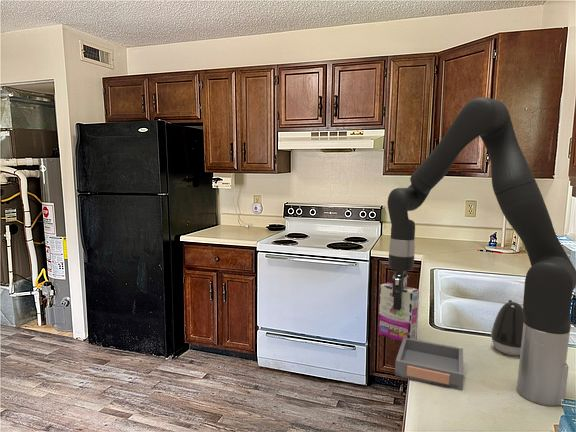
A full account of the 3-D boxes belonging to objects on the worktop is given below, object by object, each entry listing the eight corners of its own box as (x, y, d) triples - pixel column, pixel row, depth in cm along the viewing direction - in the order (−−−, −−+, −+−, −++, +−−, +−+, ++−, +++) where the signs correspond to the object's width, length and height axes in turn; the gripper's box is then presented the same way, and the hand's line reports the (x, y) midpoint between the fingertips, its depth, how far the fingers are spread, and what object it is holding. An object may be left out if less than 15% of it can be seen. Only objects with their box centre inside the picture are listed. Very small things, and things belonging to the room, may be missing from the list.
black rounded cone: (524, 347, 123) (529, 299, 121) (532, 362, 113) (537, 310, 112) (487, 341, 127) (492, 294, 125) (492, 355, 117) (496, 305, 115)
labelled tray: (461, 362, 112) (462, 348, 112) (461, 391, 97) (463, 375, 97) (402, 350, 118) (403, 337, 118) (394, 376, 103) (395, 361, 103)
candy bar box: (417, 340, 123) (420, 289, 122) (409, 345, 120) (412, 292, 118) (385, 330, 131) (388, 281, 130) (377, 334, 128) (379, 284, 126)
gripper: (411, 259, 115) (408, 315, 117) (416, 250, 128) (413, 301, 130) (385, 256, 118) (382, 311, 119) (392, 248, 131) (390, 297, 133)
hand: (398, 306), depth 125 cm, fingers closed on candy bar box, 6 cm apart
